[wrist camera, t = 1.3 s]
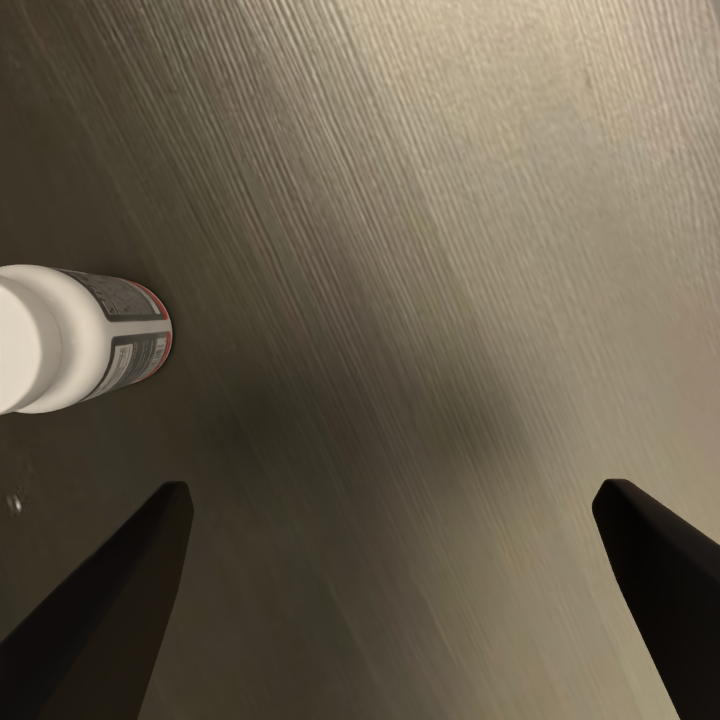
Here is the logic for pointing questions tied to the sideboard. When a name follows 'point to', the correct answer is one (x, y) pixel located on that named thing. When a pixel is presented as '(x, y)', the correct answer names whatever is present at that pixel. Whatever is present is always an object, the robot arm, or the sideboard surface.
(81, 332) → the pill bottle
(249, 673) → the sideboard surface
